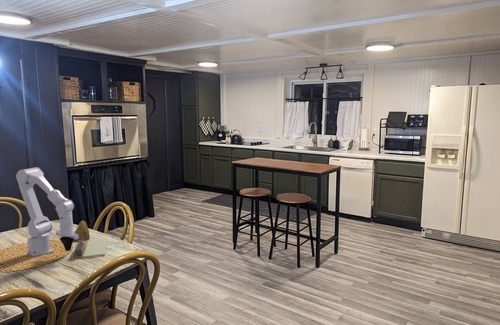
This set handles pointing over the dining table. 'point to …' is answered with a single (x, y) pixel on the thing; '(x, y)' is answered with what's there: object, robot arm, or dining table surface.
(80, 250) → the latch bar
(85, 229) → the rock
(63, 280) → the dining table surface
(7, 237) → the dining table surface
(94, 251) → the door board
